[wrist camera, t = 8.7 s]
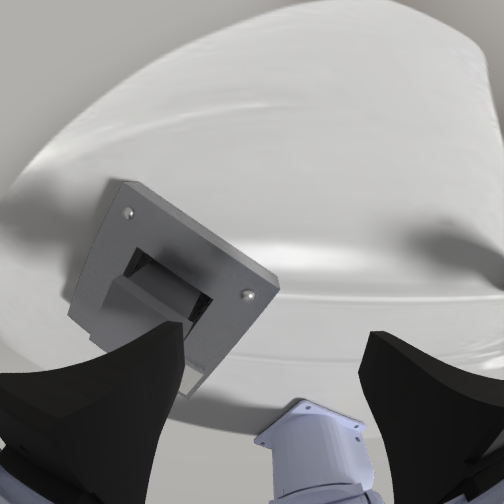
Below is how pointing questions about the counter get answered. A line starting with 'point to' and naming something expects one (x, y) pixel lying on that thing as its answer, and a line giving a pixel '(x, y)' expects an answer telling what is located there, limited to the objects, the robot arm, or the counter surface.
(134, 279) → the plug
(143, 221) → the socket plate
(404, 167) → the counter surface
